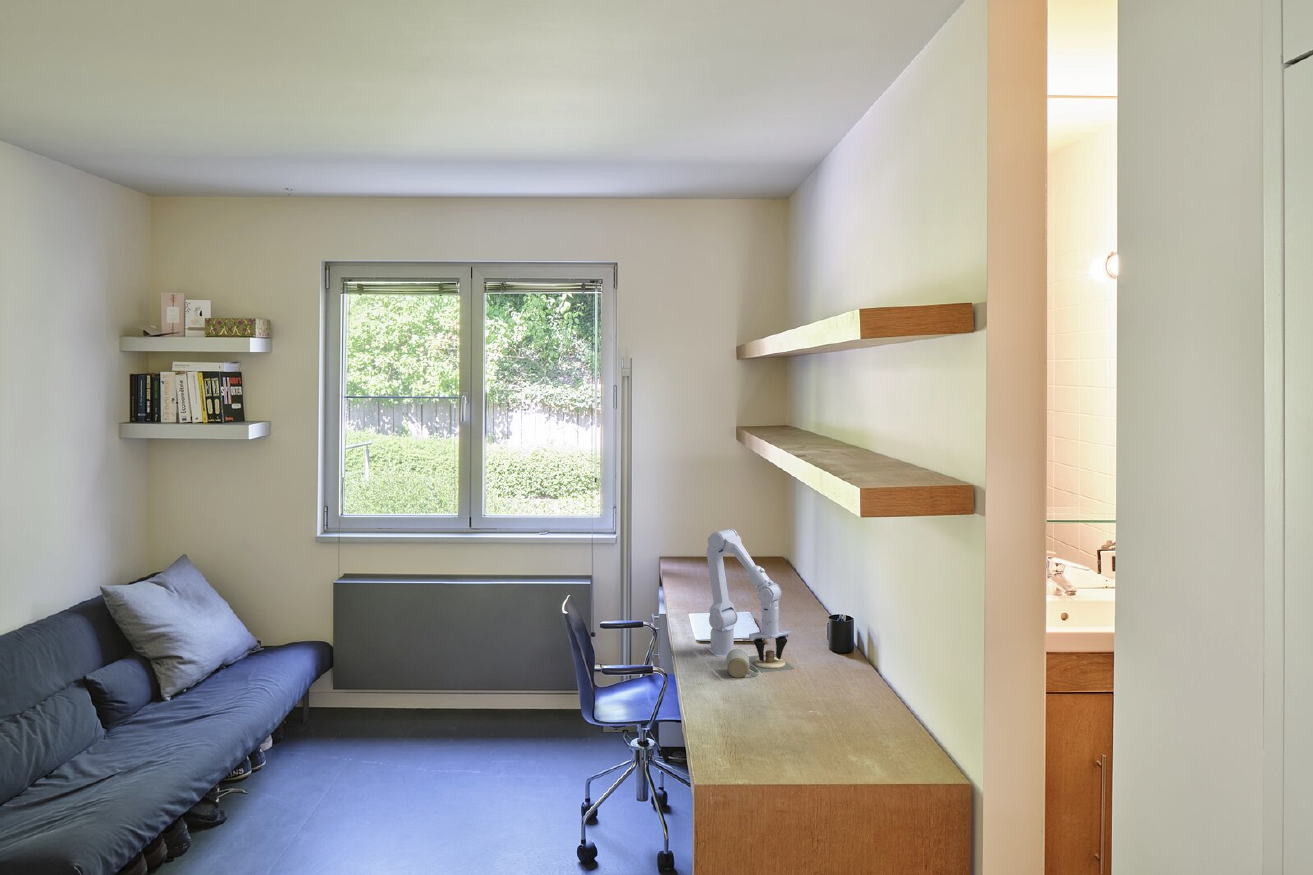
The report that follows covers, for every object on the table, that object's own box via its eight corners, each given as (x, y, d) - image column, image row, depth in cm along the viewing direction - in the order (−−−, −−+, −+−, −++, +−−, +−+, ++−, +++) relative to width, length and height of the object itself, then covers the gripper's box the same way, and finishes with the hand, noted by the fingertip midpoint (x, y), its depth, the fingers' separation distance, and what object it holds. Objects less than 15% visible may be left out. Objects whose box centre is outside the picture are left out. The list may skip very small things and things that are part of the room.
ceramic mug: (727, 679, 265) (727, 656, 264) (726, 670, 273) (726, 648, 273) (759, 680, 264) (760, 657, 264) (757, 671, 272) (758, 648, 272)
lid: (749, 660, 282) (749, 648, 282) (777, 657, 285) (777, 645, 284) (761, 670, 272) (761, 658, 272) (790, 667, 275) (790, 655, 274)
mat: (743, 658, 285) (743, 656, 285) (775, 654, 288) (775, 653, 288) (761, 673, 270) (761, 672, 270) (794, 670, 273) (794, 668, 273)
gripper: (754, 625, 271) (754, 665, 272) (794, 621, 275) (794, 661, 276) (746, 619, 278) (746, 658, 279) (786, 615, 282) (785, 654, 283)
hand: (769, 659), depth 278 cm, fingers open, 6 cm apart
